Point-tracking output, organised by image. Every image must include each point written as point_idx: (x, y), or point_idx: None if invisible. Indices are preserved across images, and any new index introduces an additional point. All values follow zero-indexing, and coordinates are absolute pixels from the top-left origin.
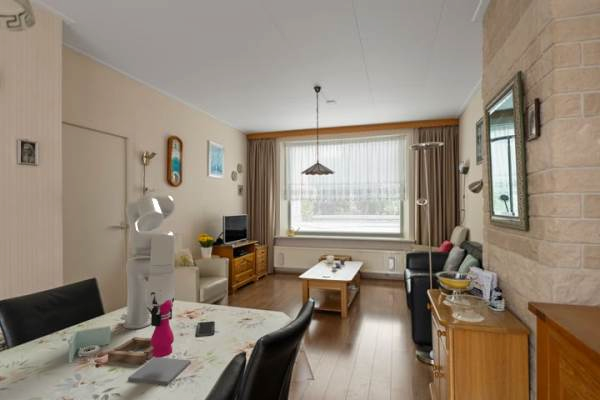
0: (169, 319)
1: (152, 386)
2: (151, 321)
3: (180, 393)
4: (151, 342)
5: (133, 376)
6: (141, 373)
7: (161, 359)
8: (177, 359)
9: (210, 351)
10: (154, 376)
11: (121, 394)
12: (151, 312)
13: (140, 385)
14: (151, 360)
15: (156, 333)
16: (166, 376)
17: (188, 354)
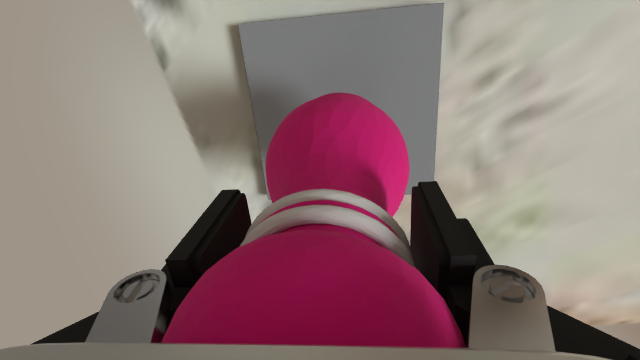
0: (411, 250)
1: (245, 150)
2: (208, 210)
3: None
4: (275, 132)
5: (251, 42)
6: (283, 59)
7: (421, 59)
8: (432, 135)
9: (548, 212)
10: None
11: (165, 77)
12: (88, 332)
13: (234, 103)
14: (402, 13)
15: (273, 186)
16: None
17: (513, 135)
